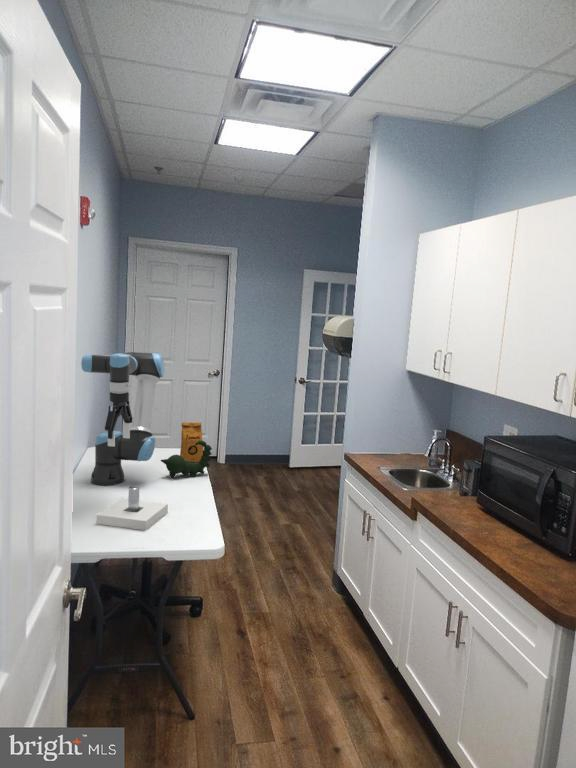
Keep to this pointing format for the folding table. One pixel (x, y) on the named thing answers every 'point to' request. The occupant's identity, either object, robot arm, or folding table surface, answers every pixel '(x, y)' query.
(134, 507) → the steel pin
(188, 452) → the coffee package
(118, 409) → the robot arm
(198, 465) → the toy figurine
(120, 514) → the socket block
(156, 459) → the folding table surface
